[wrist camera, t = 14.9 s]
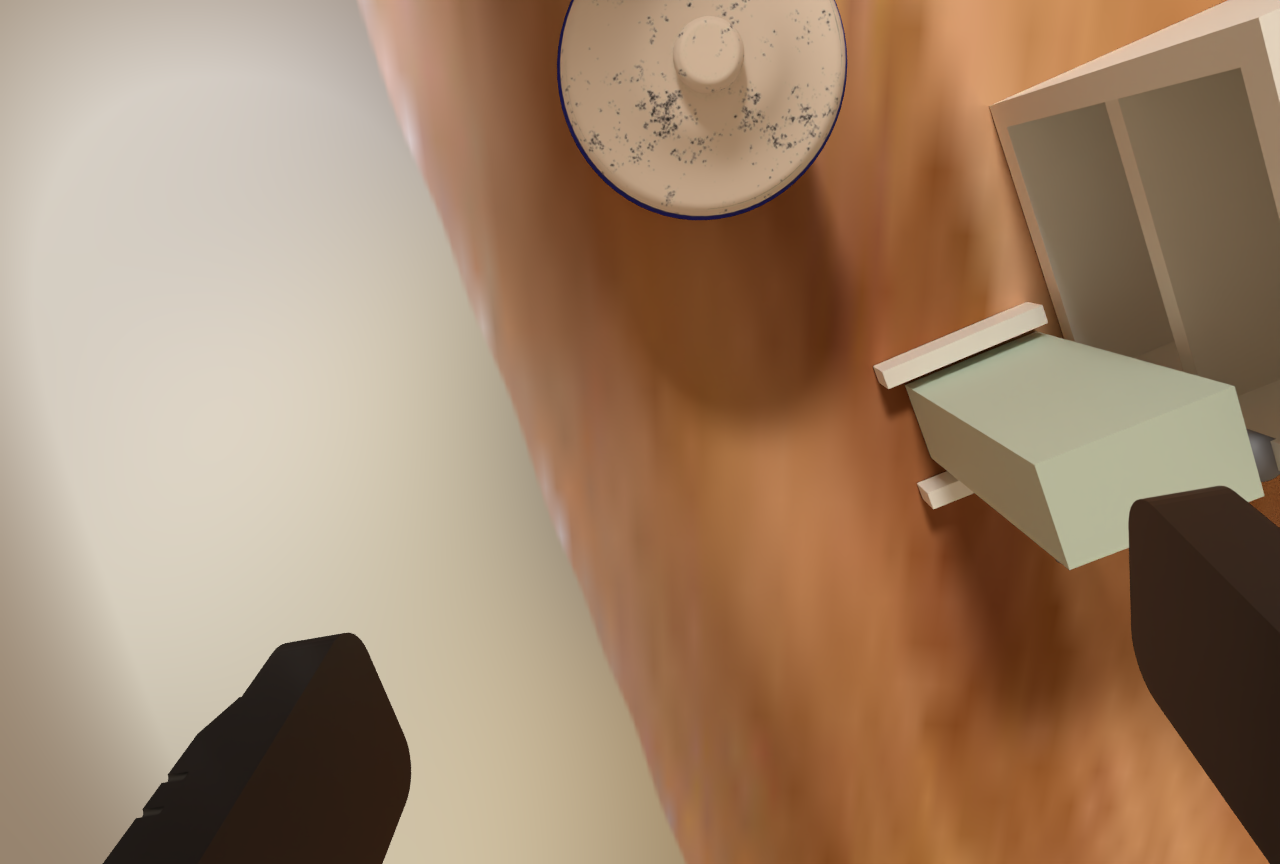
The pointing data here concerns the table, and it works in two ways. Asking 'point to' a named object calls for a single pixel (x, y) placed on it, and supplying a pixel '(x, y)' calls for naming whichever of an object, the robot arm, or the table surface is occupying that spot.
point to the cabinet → (1152, 213)
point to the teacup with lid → (701, 97)
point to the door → (1080, 438)
